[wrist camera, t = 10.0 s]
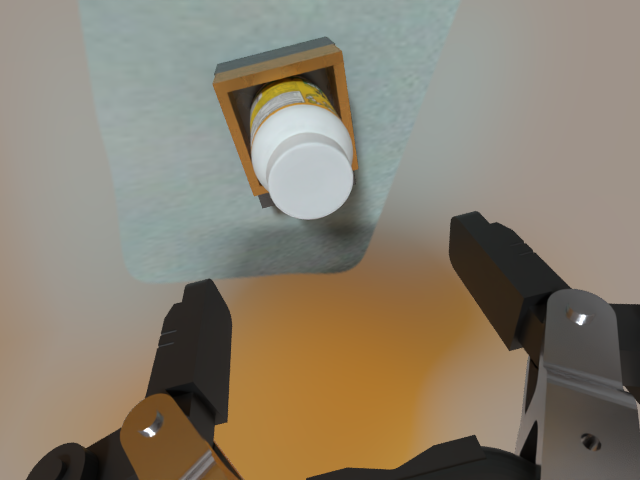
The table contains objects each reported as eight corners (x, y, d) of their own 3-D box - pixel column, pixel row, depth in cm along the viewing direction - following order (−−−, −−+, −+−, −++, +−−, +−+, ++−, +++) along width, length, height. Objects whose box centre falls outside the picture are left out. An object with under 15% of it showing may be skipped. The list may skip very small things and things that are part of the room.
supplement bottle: (235, 94, 22) (228, 156, 14) (313, 58, 22) (348, 104, 14) (271, 165, 25) (282, 246, 18) (339, 136, 25) (380, 206, 17)
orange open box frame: (217, 64, 23) (210, 84, 19) (326, 36, 24) (343, 50, 19) (261, 189, 30) (263, 226, 25) (347, 167, 30) (364, 200, 25)
